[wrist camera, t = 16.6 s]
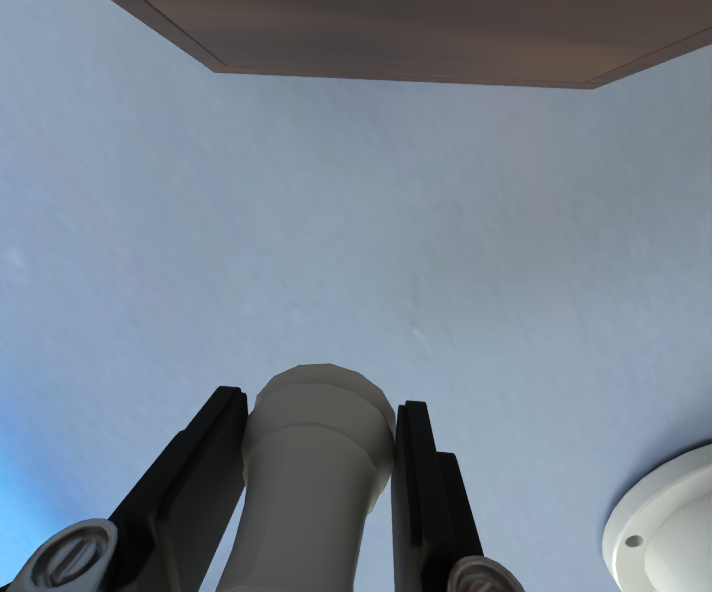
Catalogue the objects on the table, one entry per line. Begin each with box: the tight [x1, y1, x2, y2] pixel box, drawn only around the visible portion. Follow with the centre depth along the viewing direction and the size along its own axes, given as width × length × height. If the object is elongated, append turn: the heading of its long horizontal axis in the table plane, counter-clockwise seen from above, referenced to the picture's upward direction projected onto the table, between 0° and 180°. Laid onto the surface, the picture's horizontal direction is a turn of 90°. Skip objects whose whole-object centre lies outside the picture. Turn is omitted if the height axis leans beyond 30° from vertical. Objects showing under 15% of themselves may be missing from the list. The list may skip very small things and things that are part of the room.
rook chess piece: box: [215, 364, 396, 592], centre depth 7 cm, size 4×4×8 cm
